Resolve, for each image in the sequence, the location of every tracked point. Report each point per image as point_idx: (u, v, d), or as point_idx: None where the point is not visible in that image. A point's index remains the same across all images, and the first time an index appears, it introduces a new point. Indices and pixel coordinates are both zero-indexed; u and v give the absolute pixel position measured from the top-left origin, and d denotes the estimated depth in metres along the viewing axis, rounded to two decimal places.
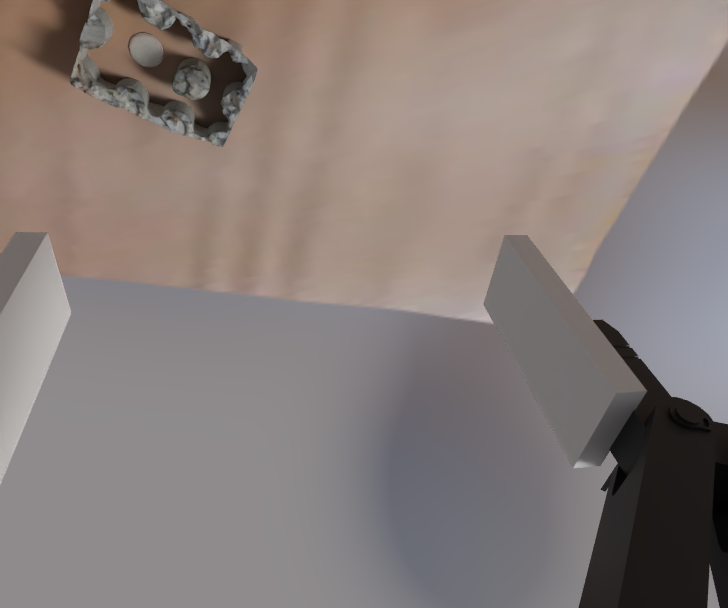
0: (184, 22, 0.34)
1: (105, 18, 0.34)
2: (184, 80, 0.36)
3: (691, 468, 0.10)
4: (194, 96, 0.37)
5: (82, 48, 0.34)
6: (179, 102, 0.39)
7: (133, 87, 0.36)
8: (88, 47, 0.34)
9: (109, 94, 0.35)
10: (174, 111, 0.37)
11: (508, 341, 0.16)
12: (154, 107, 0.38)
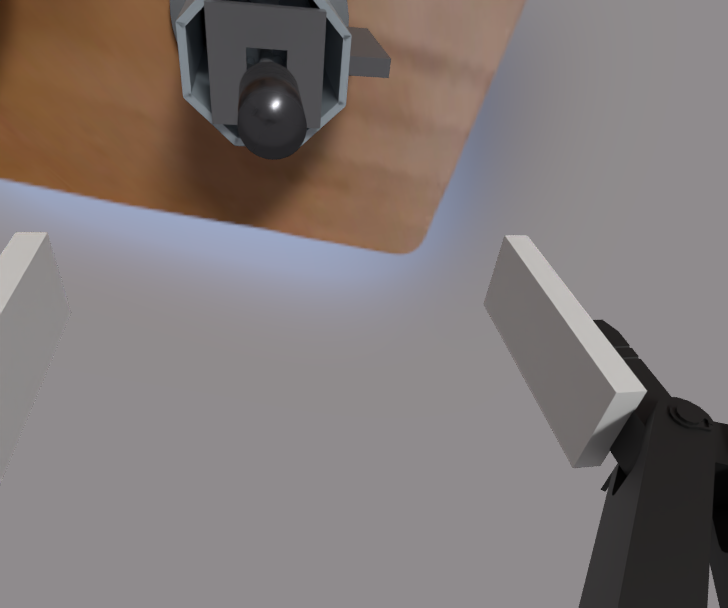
0: None
1: None
2: None
3: (691, 468, 0.10)
4: None
5: None
6: None
7: None
8: None
9: None
10: None
11: (508, 341, 0.16)
12: None
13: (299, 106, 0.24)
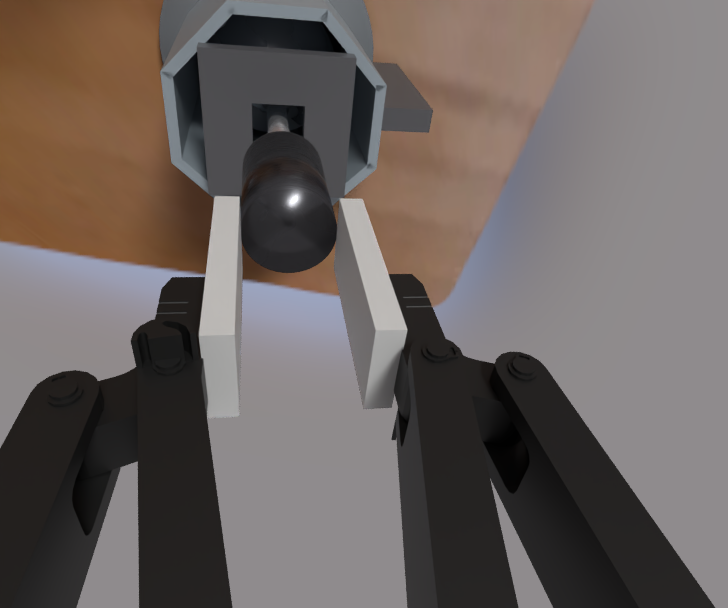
0: None
1: None
2: None
3: (453, 400, 0.11)
4: None
5: None
6: None
7: None
8: None
9: None
10: None
11: (342, 299, 0.17)
12: None
13: (327, 206, 0.17)
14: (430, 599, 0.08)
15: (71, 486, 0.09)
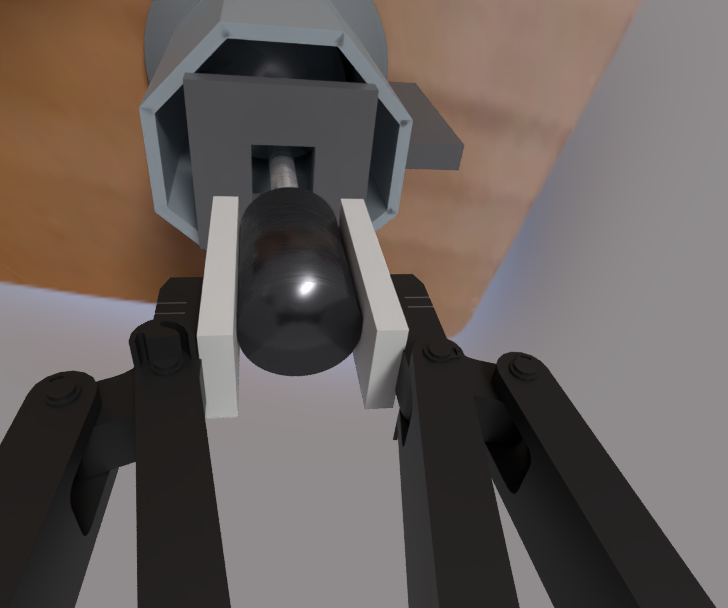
0: None
1: None
2: None
3: (455, 399, 0.11)
4: None
5: None
6: None
7: None
8: None
9: None
10: None
11: None
12: None
13: (351, 299, 0.13)
14: (431, 598, 0.08)
15: (69, 486, 0.09)
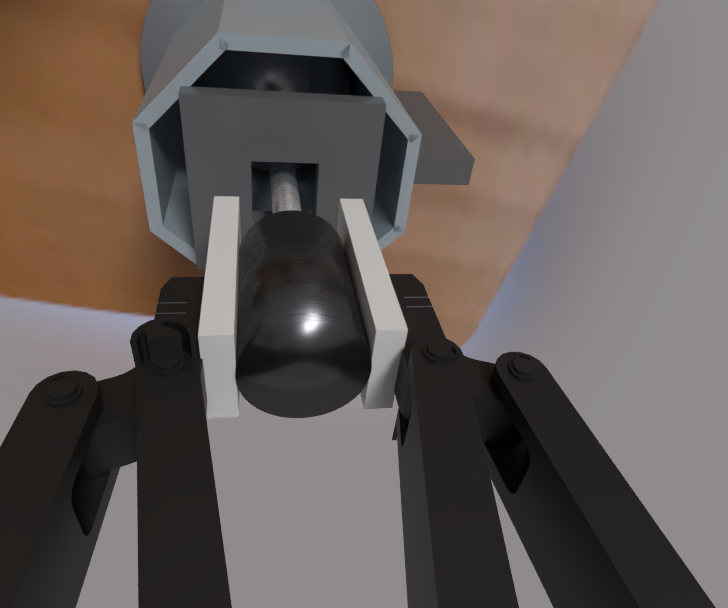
0: None
1: None
2: None
3: (454, 399, 0.11)
4: None
5: None
6: None
7: None
8: None
9: None
10: None
11: None
12: None
13: (359, 339, 0.12)
14: (431, 599, 0.08)
15: (70, 486, 0.09)
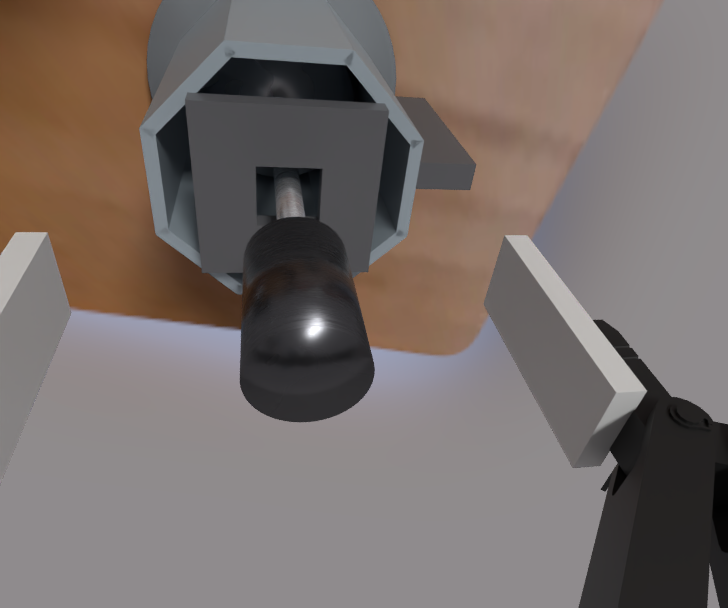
0: None
1: None
2: None
3: (691, 468, 0.10)
4: None
5: None
6: None
7: None
8: None
9: None
10: None
11: (508, 341, 0.16)
12: None
13: (362, 344, 0.12)
14: None
15: None
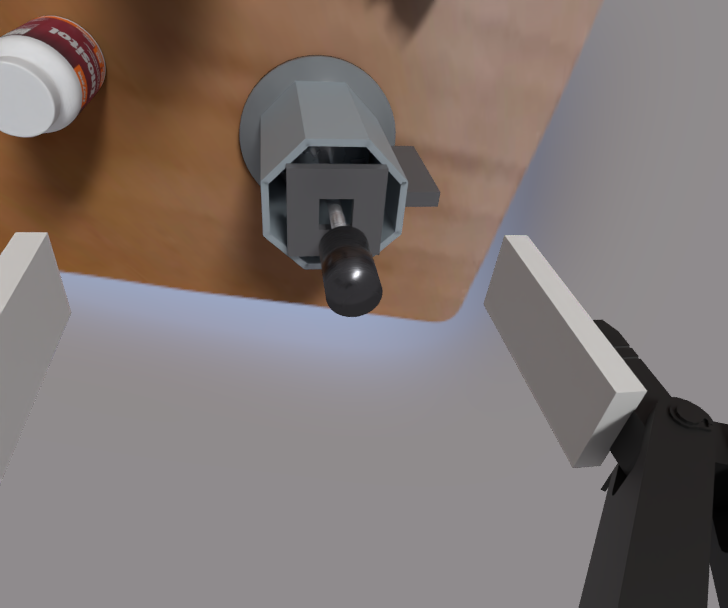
0: None
1: None
2: None
3: (691, 468, 0.10)
4: None
5: None
6: None
7: None
8: None
9: None
10: None
11: (508, 341, 0.16)
12: None
13: (377, 279, 0.30)
14: None
15: None
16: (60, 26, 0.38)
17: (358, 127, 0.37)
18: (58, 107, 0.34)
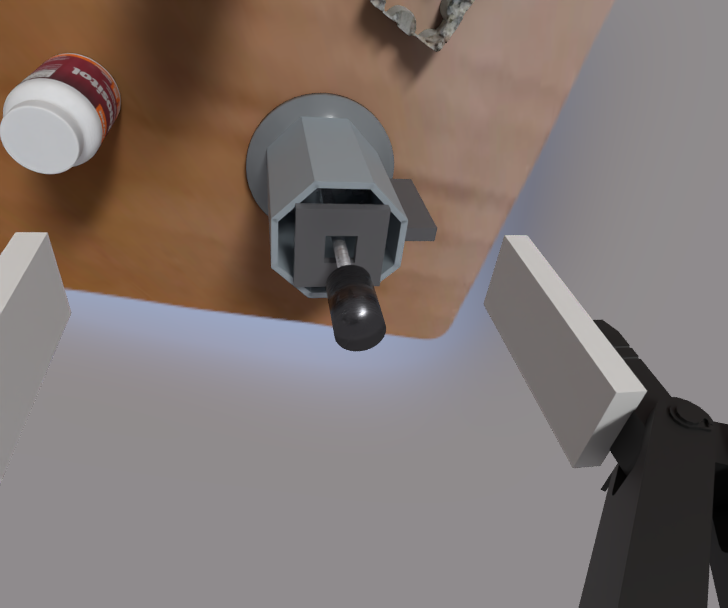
0: None
1: (395, 9, 0.42)
2: None
3: (691, 468, 0.10)
4: None
5: (414, 34, 0.43)
6: None
7: (448, 1, 0.42)
8: (414, 29, 0.43)
9: (451, 22, 0.42)
10: None
11: (508, 341, 0.16)
12: None
13: (381, 318, 0.32)
14: None
15: None
16: (81, 65, 0.40)
17: (363, 169, 0.39)
18: (82, 146, 0.36)
